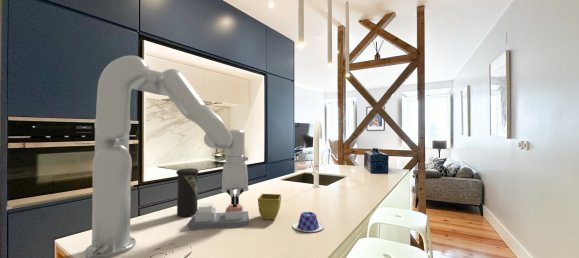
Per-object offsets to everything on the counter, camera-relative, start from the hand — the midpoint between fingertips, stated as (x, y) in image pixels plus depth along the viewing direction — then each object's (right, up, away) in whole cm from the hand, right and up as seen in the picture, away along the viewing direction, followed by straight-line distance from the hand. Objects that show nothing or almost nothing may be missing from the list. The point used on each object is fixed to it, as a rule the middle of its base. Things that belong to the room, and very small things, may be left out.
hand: (235, 205), depth 100 cm
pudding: (+29, -7, -6) cm, 30 cm away
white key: (-11, -2, -2) cm, 11 cm away
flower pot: (+14, -7, +5) cm, 16 cm away
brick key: (0, -3, 0) cm, 3 cm away
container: (-23, -7, +9) cm, 25 cm away
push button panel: (-6, -6, -1) cm, 8 cm away
